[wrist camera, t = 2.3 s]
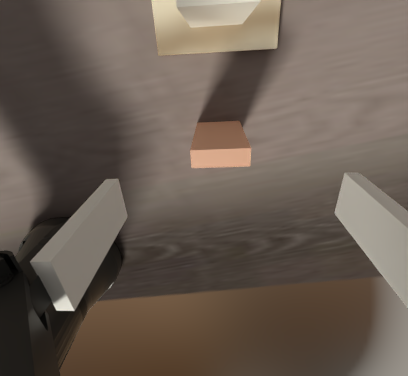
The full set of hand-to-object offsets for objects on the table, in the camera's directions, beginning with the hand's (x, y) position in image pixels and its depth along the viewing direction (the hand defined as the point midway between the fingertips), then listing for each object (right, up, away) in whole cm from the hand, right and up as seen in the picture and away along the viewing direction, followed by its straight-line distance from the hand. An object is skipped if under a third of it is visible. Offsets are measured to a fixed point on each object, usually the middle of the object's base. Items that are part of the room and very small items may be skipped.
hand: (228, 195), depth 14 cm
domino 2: (0, +8, +15) cm, 16 cm away
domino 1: (0, +17, +8) cm, 19 cm away
